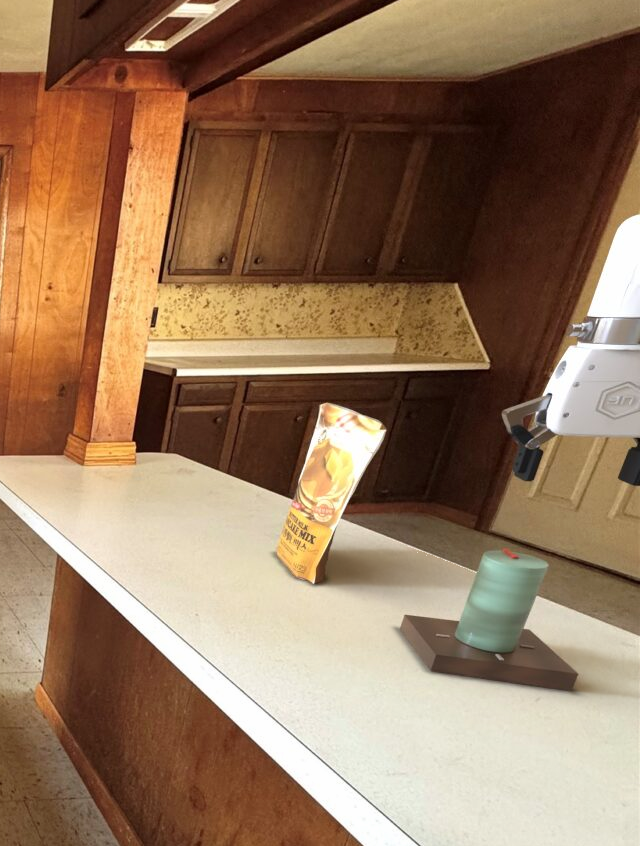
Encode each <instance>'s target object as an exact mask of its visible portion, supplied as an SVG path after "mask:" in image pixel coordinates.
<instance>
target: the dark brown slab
mask: <svg viewBox="0 0 640 846" xmlns="http://www.w3.org/2000/svg"><path fill="white" fill-rule="evenodd" d="M459 621H460V620H453V619H445V618H438V617H437V618H436V617H430V616H429V617H428V616H420V615H412V614H404V615H403V618H402V621H401V624H400V627H399V630H400V632H401V633H402V635H403V636H404V637H405V639H406V640H407V641H408V643H409V644H410V645H411V647H412V649H414V651H415V652H416V653H417V654H418V656H419V658H420V659H421V661H422V662H423V664H424V665H425V666H426V667H427V668H428V670H429V671H430V672H436V673H442V674H449V675H457V676H464V677H471V678H475V679H477V678H479V679H484V680H490V681H497V682H504V683H505V682H506V683H512V684H518V685H527V686H534V687H539V688H545V689H546V688H547V689H553V690H560V691H568V692H572V690H573V689H574V686H575V684H576V681H577V680H578V678H579V673H578V672H577V671H576V670H575V669H574V668H573V667H572V666H571V665H570V664H568V663H567V662H566V661H565V660H564V659H563V658H562V657H560V656H559V655H558V654H557V653H556V652H555V651H554V650H553V649H551V647H549V645H548V644H546V643H545V642H544V641H543V640H542V639H541V638H540V637H538V636H537V635H536V634H535V633H534V632H533V631H532V630H531V629H529V628H524V629H523V631H522V634H521V636H520V639H519V641H518V644H517V646H516V649H515V650H514V651H512V652H508V653H499V652H491V651H486V650H482V649H478V648H475V647H472V646H470V645H467V644H465V643H463V642H461V641H460V640H458V639H457V638H456V637H455V632H456V629H457V626H458V624H459Z"/></svg>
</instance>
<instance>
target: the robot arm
mask: <svg viewBox="0 0 640 846" xmlns="http://www.w3.org/2000/svg"><path fill="white" fill-rule="evenodd" d="M600 274H601V275H600V277H599V280H598V283H597V286H596V289H595V292H594V294H593V297H592V300H591V303H590V305H589V309H588V312H587V314H586V317H585V316H584V317H583V320H582V322H579V323H571V324H569V326H568V327H566V331H565V332H566V333H565V335H566V336H567V337H574V338H576V341H577V344H576V345H575V344H573V345H569V347H568V348H567V349H566V351H565V353H564V354H563V355H562V357H561V359H560V360H559V362H558V364H557V365H556V367H555V368H554V371H553V373H552V374H551V377H550V378H549V380H548V383H547V385H546V387H545V390H544V391H543V394H542V396H539V397H536V398H534V399H531V400H528V401H525V402H522V403H520V404H517V405H514V406H510V407H508V408H505V409H503V410H502V411H501V417H502V420H503V423H504V426H505V427H506V428H505V431H506V432H507V434H509V435H510V437H512V438H513V440H515V443H516V444H517V445H519V446H518V450H517V452H516V455H515V458H514V461H513V465H512V467H511V468H512V469H511V470H512V472H513V476H514V477H515V478H518V479H520V480H522V481H523V482H529V483H530V482H532V481H534V480H535V478H536V476H537V472H538V470H539V467H540V464H541V461H542V458H543V456H544V450H543V449H542V448H541V447H542V445H544V444H546V443H547V442H549V441H550V440H552V439H553V438H555V437H556V436H559V435H560V436H565V437H579V438H580V437H581V438H582V437H584V438H586V437H588V438H627V439H628V438H632V439H633V440H634V442H635V443H636V444H637V445H636V446H630V448H629V449H628V450H627V453H626V455H625V458H624V461H623V463H622V465H621V468H620V471H619V473H618V475H617V479H618V480H619V481H621V482H624V483H626V484H628V485H631V486H633V487H640V214H636V215H633V216H630V217H629V218H627V219H625V220H624V221H623V222H622V223H621V224H620V225H619V226H618V228H617V230H616V232H615V234H614V237H613V240H612V243H611V245H610V249H609V252H608V254H607V257H606V260H605V262H604V265H603V268H602V271H601V273H600ZM534 413H535V416H534V425H533V426H532V427H530V428H528V429H527V428H526V427H525V426H524V422H523V419H524V418H525V417H526V416H528V415H532V414H534Z"/></svg>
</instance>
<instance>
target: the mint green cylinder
mask: <svg viewBox="0 0 640 846" xmlns="http://www.w3.org/2000/svg"><path fill="white" fill-rule="evenodd" d="M549 567H550V564H549V563H548V562H547V561H546V560H544V559H542V558H539V557H537V556H533V555H530V554H525V553H522V552H516V551H512V550H510V548H502V550H496V549H495V550H486V551H484V552H483V554H482V556H481V560H480V562H479V565H478V567H477V571H476V573H475V576H474V579H473V582H472V584H471V587H470V589H469V592H468V597H467V598H466V601H465V604H464V606H463V610H462V612H461V615H460V618H459V620H458V621H459V624H458V626H457V629H456V632H455V637H456V638H457V639H458V640H460V641H461V642H463V643H465V644H467V645H470V646H472V647H475V648H478V649H482V650H486V651H491V652H499V653H508V652H512V651H514V650H515V649H516V646H517V644H518V641H519V639H520V636H521V634H522V631H523V629H525V626H526V623H527V621H528V619H529V616H530V613H531V612H532V609H533V606H534V603H535V601H536V598H537V596H538V593H539V591H540V588H541V586H542V584H543V581H544V579H545V576H546V574H547V571H548V569H549Z"/></svg>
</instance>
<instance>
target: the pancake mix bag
mask: <svg viewBox="0 0 640 846" xmlns="http://www.w3.org/2000/svg"><path fill="white" fill-rule="evenodd" d="M387 430H388V428H387V427H386V426H385V425H384V424H383V422H381V420H379V419H376V418H373V417H370V416H368V415H363V414H362V413H360V412H358V411H355V410H353V409H350V408H347V407H345V406H341V405H339V404H335V403H331V402H325V403H322V404H319V408H318V416H317V419H316V423H315V427H314V429H313V434H312V437H311V440H310V444H309V448H308V450H307V453H306V456H305V461H304V464H303V468H302V469H301V473H300V475H299V479H298V483H297V488H296V489H295V493H294V496H293V499H292V502H291V505H290V508H289V511H288V513H287V516H286V519H285V522H284V524H283V528H282V530H281V534H280V537H279V539H278V543H277V549H276V557H277V558H278V559H279V560H280V561H281V562H282V564H283V565H284V566H285V567H286V568H287V569H288V570H289V572H290V573H291V574H292V575H293V576H294V577H295V578H296V579H299V580H302V581H303V580H304V581H308V582H310V583H311V584H313V585H315V584H318V583H320V582H323V580H324V577H325V573H326V565H327V561H328V559H329V554H330V550H331V547H332V544H333V540H334V537H335V534H336V530H337V527H338V525H339V521H340V520H341V517H342V515H343V514H344V512H345V509H346V507H347V505H348V503H349V500H350V499H351V498H352V496H353V494H354V493H355V491H356V489H357V487H358V485H359V483H360V482H361V478H362V477H363V475H364V474H365V471H366V469H367V467H368V466H369V464H370V462H371V461H372V459H373V458H374V456H375V455H376V454H377V452H378V451H379V449H380V447H381V445H382V443H383V442H384V439H385V437H386V434H387Z"/></svg>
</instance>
